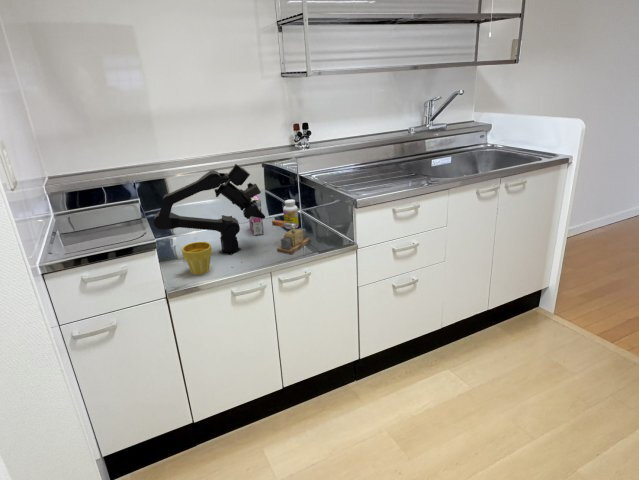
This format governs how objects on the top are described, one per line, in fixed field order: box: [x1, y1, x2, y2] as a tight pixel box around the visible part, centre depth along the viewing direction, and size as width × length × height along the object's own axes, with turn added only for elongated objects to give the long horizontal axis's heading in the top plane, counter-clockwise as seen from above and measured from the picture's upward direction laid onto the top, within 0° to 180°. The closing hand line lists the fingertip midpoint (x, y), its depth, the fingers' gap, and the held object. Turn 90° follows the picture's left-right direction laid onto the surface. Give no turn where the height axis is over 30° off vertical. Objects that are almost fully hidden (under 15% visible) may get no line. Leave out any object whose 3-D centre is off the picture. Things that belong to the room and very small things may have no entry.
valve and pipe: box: [280, 227, 308, 250], centre depth 169 cm, size 14×5×7 cm, turn 150°
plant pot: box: [181, 241, 213, 276], centre depth 151 cm, size 10×10×10 cm
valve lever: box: [271, 219, 297, 229], centre depth 169 cm, size 11×3×2 cm, turn 60°
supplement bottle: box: [282, 199, 300, 230], centre depth 190 cm, size 7×7×13 cm
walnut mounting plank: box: [276, 237, 312, 255], centre depth 170 cm, size 15×7×2 cm, turn 150°
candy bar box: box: [248, 194, 264, 237], centre depth 186 cm, size 11×5×16 cm, turn 17°
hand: (264, 217), depth 168 cm, fingers closed
